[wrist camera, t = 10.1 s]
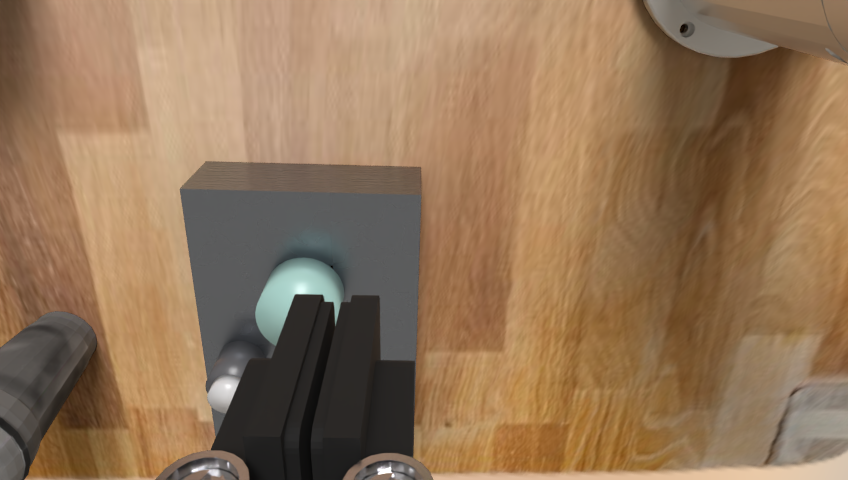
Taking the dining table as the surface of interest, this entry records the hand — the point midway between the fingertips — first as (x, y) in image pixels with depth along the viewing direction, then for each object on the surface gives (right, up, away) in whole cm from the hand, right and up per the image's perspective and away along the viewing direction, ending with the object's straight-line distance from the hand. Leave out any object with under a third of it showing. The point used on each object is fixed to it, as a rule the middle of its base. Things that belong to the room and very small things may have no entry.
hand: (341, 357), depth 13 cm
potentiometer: (-10, -6, +29) cm, 31 cm away
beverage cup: (-25, -5, +34) cm, 43 cm away
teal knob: (-6, +1, +31) cm, 31 cm away
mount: (-6, -4, +33) cm, 34 cm away
